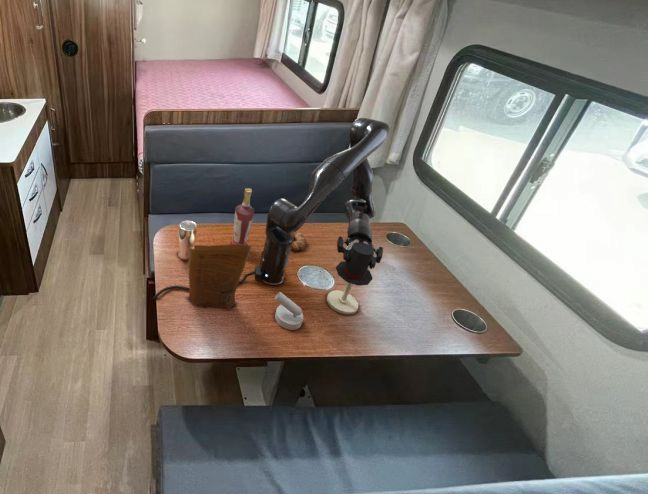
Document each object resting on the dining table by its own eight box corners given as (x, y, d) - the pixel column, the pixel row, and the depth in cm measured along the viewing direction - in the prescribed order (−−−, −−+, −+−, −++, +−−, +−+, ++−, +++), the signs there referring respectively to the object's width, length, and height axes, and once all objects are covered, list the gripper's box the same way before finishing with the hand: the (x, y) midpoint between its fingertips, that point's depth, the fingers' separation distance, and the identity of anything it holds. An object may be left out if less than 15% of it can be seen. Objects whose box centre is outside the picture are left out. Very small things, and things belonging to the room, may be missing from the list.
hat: (340, 283, 127) (349, 257, 121) (333, 259, 136) (342, 235, 130) (375, 288, 125) (386, 262, 119) (366, 264, 134) (376, 239, 128)
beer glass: (197, 253, 159) (200, 223, 151) (189, 263, 154) (192, 233, 146) (182, 247, 162) (184, 218, 154) (174, 256, 157) (175, 227, 149)
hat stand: (329, 311, 134) (344, 273, 125) (324, 290, 143) (337, 252, 133) (360, 316, 133) (377, 278, 123) (353, 295, 141) (369, 257, 132)
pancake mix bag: (240, 314, 133) (252, 251, 118) (184, 308, 135) (189, 245, 120) (238, 298, 139) (250, 237, 124) (184, 293, 141) (190, 232, 126)
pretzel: (291, 255, 159) (293, 248, 157) (271, 240, 167) (273, 233, 165) (311, 246, 164) (313, 239, 162) (291, 232, 172) (293, 225, 170)
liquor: (249, 252, 160) (260, 195, 145) (231, 252, 160) (240, 195, 145) (245, 241, 166) (255, 185, 152) (228, 240, 166) (237, 184, 152)
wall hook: (280, 283, 132) (310, 296, 128) (275, 303, 137) (304, 315, 133) (272, 300, 126) (304, 313, 121) (267, 320, 131) (298, 334, 126)
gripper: (340, 219, 139) (338, 248, 126) (385, 230, 134) (388, 261, 121) (334, 236, 143) (332, 265, 130) (378, 247, 137) (380, 279, 125)
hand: (359, 263), depth 125 cm, fingers closed on hat, 6 cm apart
